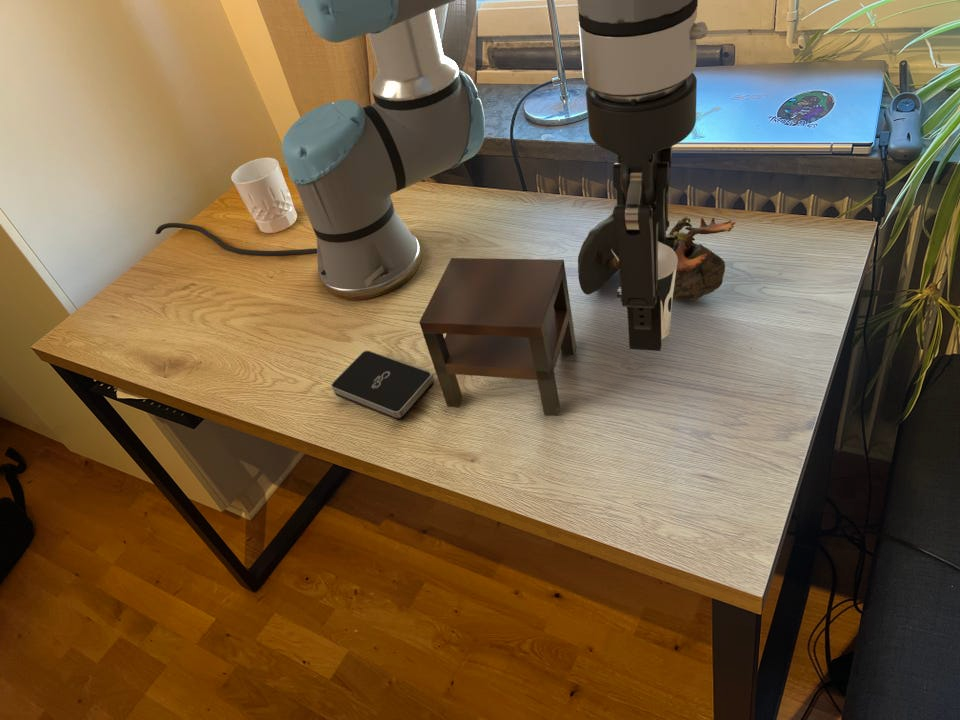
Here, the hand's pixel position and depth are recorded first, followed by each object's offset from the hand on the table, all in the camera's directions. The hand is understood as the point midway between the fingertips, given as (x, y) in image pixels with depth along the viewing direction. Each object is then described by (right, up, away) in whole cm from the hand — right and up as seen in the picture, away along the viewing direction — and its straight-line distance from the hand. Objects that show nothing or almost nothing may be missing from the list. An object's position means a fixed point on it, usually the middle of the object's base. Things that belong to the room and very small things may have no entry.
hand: (648, 328), depth 65 cm
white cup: (-50, +20, +57) cm, 78 cm away
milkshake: (0, 0, 0) cm, 0 cm away
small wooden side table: (-12, -5, +19) cm, 22 cm away
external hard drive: (-27, -7, +21) cm, 35 cm away
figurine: (+6, +6, +25) cm, 27 cm away
